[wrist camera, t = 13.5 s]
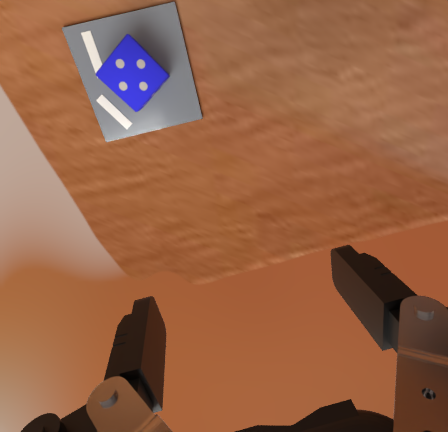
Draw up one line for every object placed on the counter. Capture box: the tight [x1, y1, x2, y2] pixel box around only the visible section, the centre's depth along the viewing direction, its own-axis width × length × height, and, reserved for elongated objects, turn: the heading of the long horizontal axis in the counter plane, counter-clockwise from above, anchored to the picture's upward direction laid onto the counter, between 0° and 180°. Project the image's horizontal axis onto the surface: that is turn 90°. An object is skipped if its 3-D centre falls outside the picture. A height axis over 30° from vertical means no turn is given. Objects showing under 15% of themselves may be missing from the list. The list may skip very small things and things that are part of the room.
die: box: [96, 34, 170, 112], centre depth 31 cm, size 5×5×5 cm
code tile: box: [62, 2, 203, 142], centre depth 34 cm, size 12×12×1 cm
